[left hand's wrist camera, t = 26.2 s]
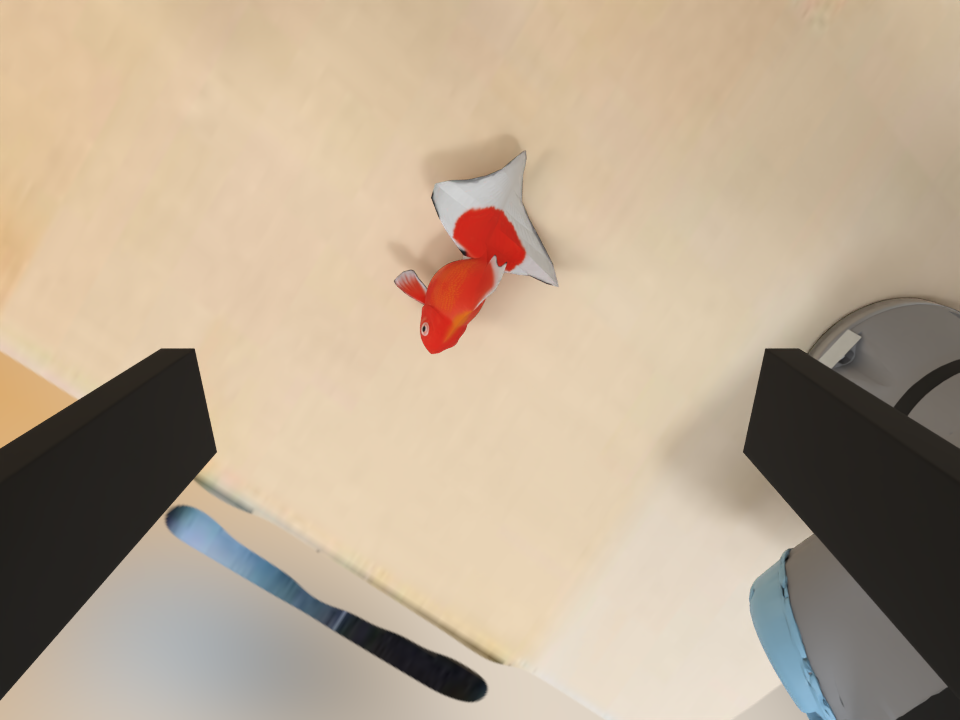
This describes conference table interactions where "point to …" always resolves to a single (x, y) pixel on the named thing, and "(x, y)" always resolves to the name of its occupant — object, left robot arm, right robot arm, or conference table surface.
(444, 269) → the fish
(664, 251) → the conference table surface
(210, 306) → the conference table surface
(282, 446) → the conference table surface
